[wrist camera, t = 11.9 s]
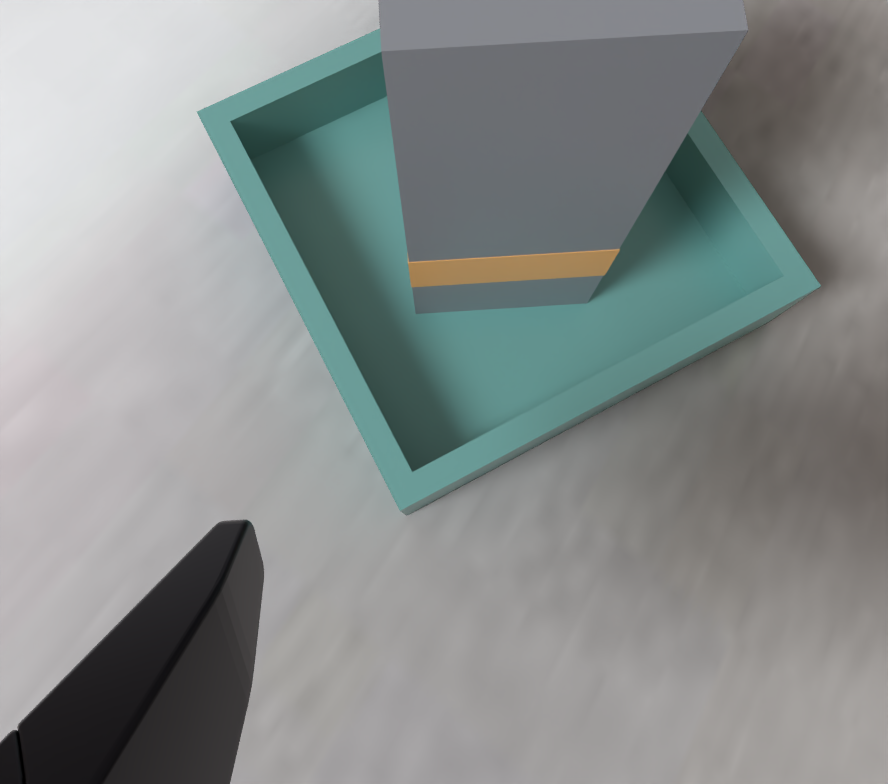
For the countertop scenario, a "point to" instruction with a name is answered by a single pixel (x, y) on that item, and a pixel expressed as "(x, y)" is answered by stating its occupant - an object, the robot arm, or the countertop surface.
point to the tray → (494, 330)
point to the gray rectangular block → (538, 134)
